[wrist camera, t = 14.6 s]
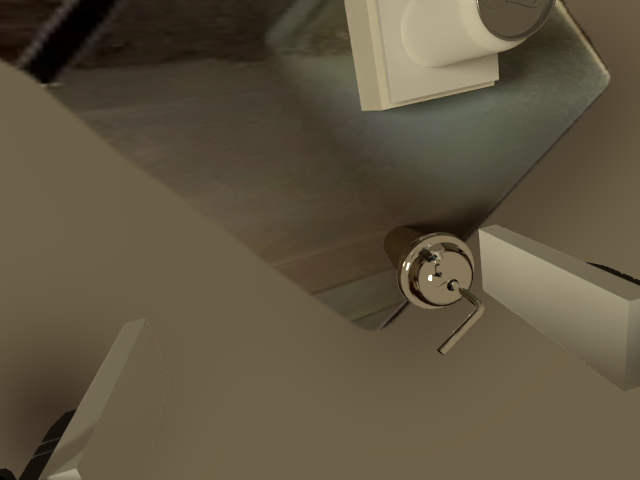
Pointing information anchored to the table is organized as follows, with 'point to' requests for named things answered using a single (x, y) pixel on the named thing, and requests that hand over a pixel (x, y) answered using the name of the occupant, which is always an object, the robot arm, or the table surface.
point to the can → (468, 28)
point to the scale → (403, 61)
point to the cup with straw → (434, 272)
